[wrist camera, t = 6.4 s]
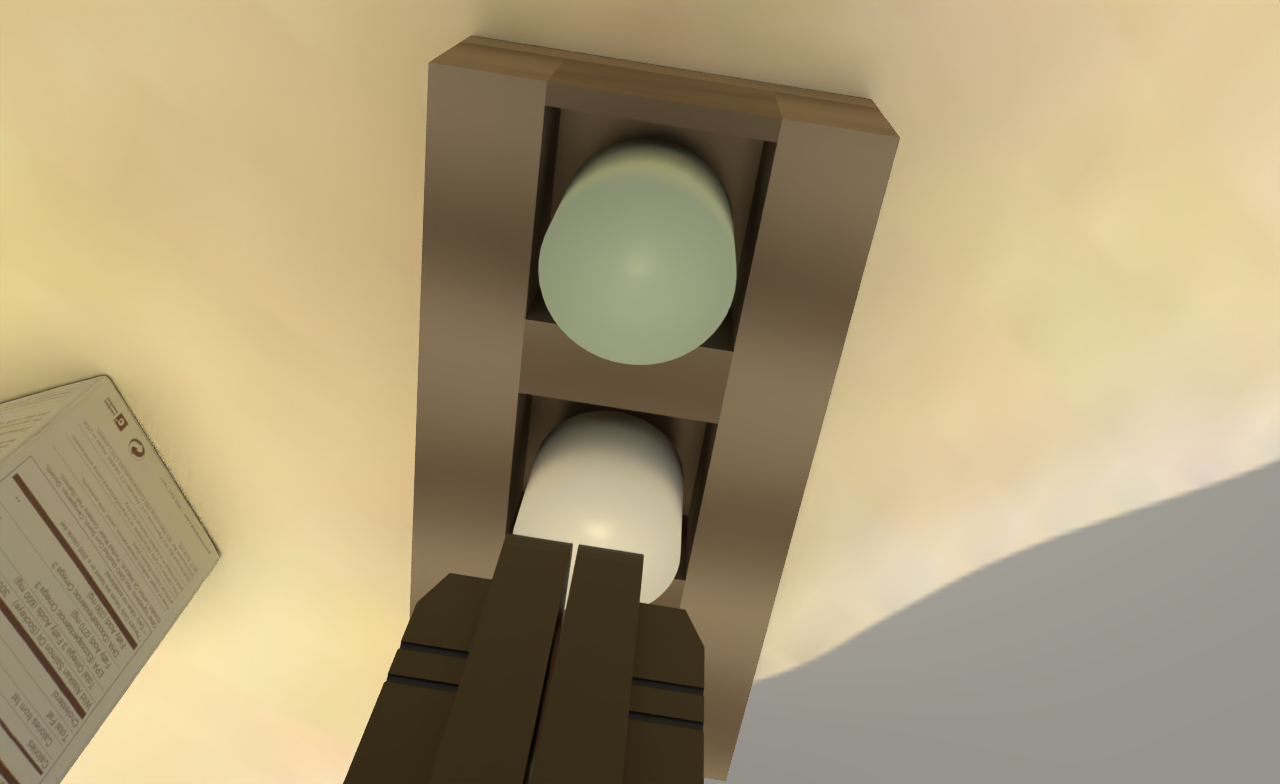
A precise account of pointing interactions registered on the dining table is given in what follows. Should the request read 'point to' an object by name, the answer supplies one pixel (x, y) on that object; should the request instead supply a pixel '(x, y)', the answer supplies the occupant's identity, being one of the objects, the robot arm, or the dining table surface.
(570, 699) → the robot arm
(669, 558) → the cream pill shape
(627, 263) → the sage button
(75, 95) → the dining table surface
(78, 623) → the supplement box
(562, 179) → the frame
